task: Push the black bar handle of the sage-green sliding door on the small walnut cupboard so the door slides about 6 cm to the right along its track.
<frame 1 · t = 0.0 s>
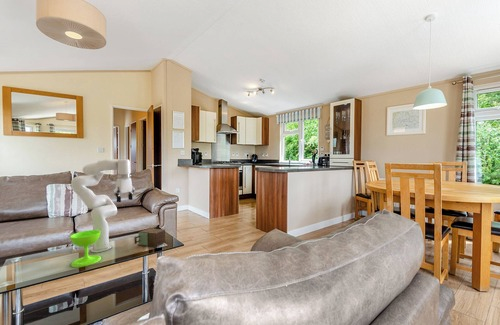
hand: (124, 200, 158), 37 cm above the table, tool pointing down, fingers open, 9 cm apart
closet: (152, 243, 176), on the table
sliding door: (140, 239, 169), point 5 cm above the table, slide at 0.0 cm
wineglass: (86, 261, 146), on the table
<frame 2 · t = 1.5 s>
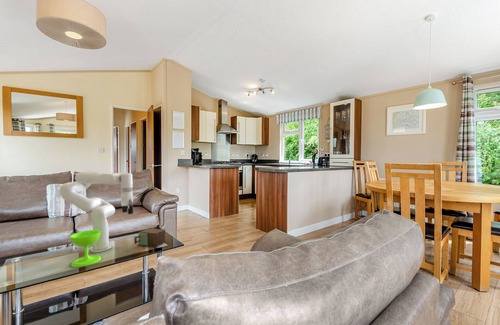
hand: (127, 213, 165), 27 cm above the table, tool pointing down, fingers open, 9 cm apart
nothing on the table moved.
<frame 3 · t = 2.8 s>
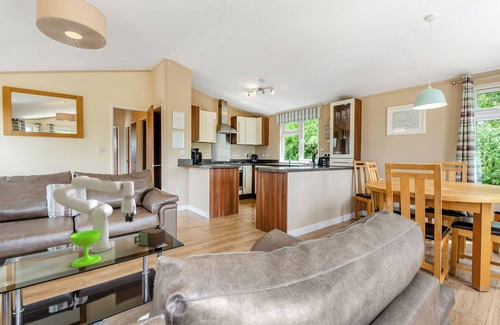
hand: (129, 221, 170), 19 cm above the table, tool pointing down, fingers closed
nothing on the table moved.
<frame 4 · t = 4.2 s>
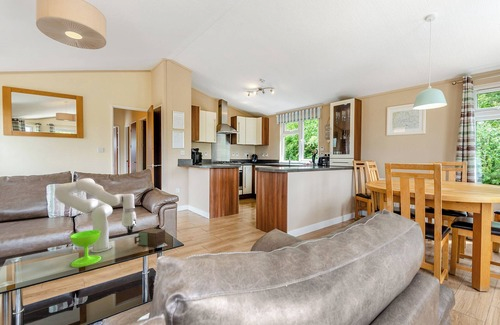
hand: (130, 234, 170), 9 cm above the table, tool pointing down, fingers closed
nothing on the table moved.
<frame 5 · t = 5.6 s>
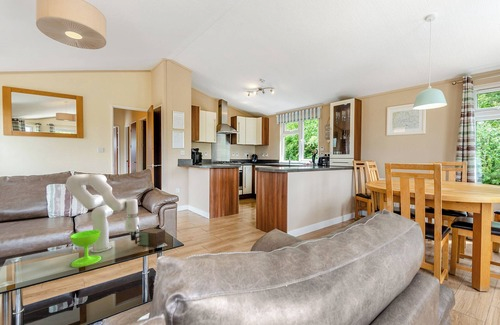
hand: (133, 239, 169), 5 cm above the table, tool pointing down, fingers closed
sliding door: (141, 240, 169), point 5 cm above the table, slide at 0.5 cm, touching gripper
everything else where it was.
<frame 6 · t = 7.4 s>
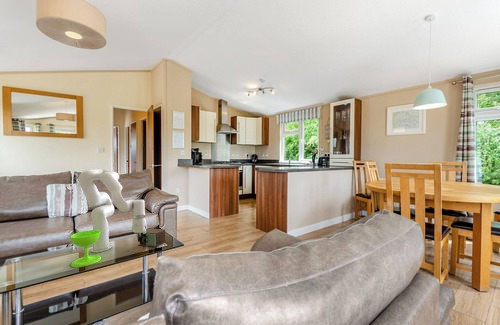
hand: (140, 241, 167), 5 cm above the table, tool pointing down, fingers closed
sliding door: (148, 240, 167), point 5 cm above the table, slide at 7.2 cm, touching gripper
everything else where it was.
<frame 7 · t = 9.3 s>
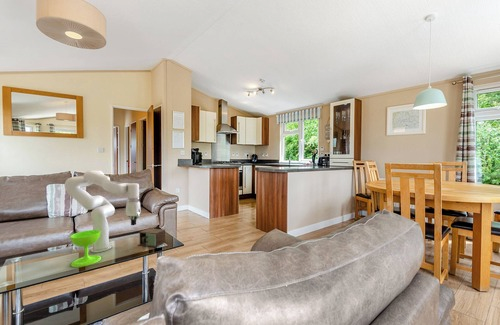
hand: (133, 224, 166), 18 cm above the table, tool pointing down, fingers closed
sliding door: (148, 240, 167), point 5 cm above the table, slide at 7.2 cm
everything else where it was.
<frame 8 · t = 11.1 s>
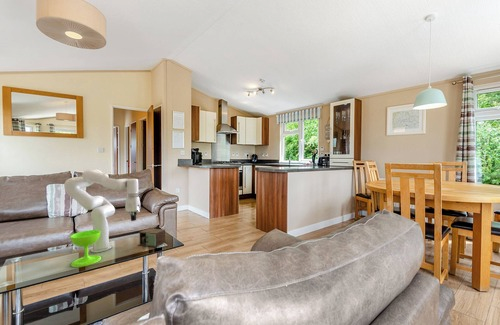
hand: (133, 220, 165), 21 cm above the table, tool pointing down, fingers closed
nothing on the table moved.
at the end: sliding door slide at 7.2 cm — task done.
